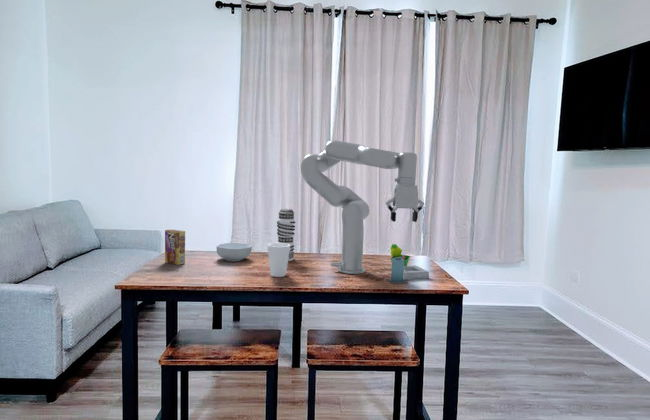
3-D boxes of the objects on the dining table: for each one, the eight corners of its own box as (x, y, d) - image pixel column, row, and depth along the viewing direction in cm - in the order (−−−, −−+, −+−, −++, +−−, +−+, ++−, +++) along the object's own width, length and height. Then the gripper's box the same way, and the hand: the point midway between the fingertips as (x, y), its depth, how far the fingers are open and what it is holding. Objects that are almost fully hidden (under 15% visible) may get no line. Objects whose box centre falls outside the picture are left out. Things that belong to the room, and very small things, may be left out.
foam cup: (264, 272, 189) (265, 243, 188) (285, 271, 193) (285, 242, 191) (270, 278, 180) (271, 247, 179) (292, 276, 184) (292, 246, 183)
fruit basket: (406, 271, 201) (407, 247, 200) (387, 269, 204) (388, 245, 203) (409, 266, 212) (410, 243, 211) (391, 264, 215) (392, 241, 214)
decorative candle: (290, 256, 224) (291, 208, 221) (297, 260, 215) (298, 210, 213) (273, 257, 220) (274, 208, 217) (279, 261, 212) (281, 210, 209)
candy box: (185, 263, 201) (185, 230, 199) (178, 265, 197) (178, 231, 196) (171, 261, 205) (171, 228, 203) (164, 262, 201) (164, 230, 199)
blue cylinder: (394, 282, 180) (395, 259, 179) (389, 279, 184) (390, 256, 183) (405, 281, 181) (406, 259, 180) (399, 278, 186) (401, 256, 185)
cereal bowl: (257, 261, 211) (258, 246, 210) (226, 265, 201) (226, 250, 200) (241, 254, 224) (241, 241, 224) (210, 258, 214) (210, 244, 213)
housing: (403, 279, 186) (403, 272, 185) (391, 272, 197) (391, 266, 197) (428, 278, 189) (428, 271, 189) (415, 271, 201) (415, 265, 200)
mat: (392, 284, 178) (392, 283, 178) (385, 279, 185) (385, 278, 185) (408, 283, 180) (408, 282, 180) (400, 278, 187) (400, 277, 187)
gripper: (390, 181, 180) (388, 222, 182) (429, 182, 184) (426, 222, 186) (384, 180, 188) (381, 220, 189) (421, 181, 191) (418, 220, 193)
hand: (403, 221), depth 188 cm, fingers open, 9 cm apart
